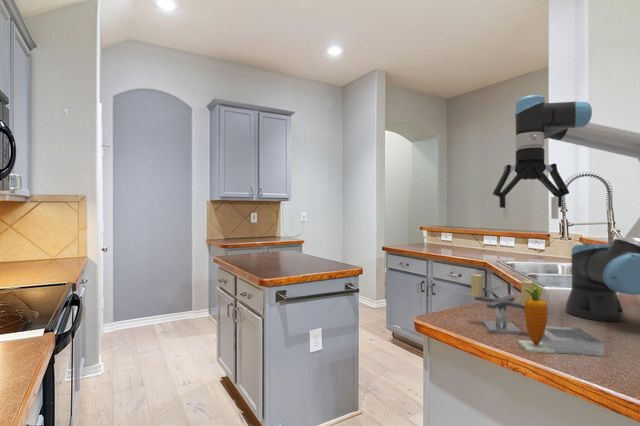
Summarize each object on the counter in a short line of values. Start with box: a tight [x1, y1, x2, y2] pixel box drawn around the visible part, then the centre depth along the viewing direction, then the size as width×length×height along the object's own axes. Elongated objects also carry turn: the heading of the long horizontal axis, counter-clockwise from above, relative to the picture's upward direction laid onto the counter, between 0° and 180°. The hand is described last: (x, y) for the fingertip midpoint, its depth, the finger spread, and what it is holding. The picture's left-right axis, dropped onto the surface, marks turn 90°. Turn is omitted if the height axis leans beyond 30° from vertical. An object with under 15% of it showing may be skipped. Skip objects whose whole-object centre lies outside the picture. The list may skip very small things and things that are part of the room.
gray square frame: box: [540, 325, 605, 357], centre depth 89 cm, size 11×11×3 cm
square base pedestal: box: [482, 306, 522, 335], centre depth 102 cm, size 8×8×7 cm
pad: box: [517, 339, 556, 354], centre depth 87 cm, size 6×6×1 cm
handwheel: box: [470, 273, 535, 310], centre depth 102 cm, size 16×14×8 cm
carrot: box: [524, 283, 548, 345], centre depth 87 cm, size 5×5×15 cm
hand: (529, 218), depth 107 cm, fingers open, 13 cm apart
